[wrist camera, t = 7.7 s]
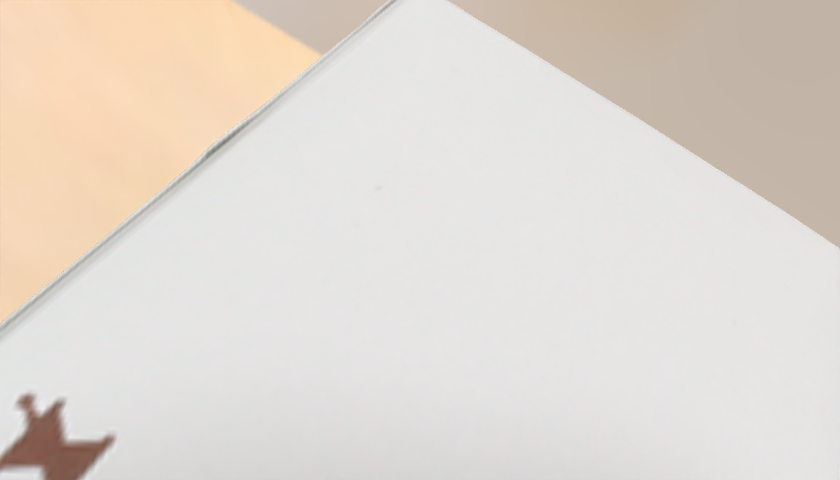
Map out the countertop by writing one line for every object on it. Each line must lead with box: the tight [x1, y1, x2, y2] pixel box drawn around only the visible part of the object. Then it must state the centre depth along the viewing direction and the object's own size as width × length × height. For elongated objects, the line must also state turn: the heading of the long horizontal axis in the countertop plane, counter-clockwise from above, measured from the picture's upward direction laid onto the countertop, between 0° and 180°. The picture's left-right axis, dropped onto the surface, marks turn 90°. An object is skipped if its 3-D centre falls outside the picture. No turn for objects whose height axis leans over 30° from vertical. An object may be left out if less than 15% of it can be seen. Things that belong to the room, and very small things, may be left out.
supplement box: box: [0, 0, 840, 480], centre depth 9 cm, size 7×7×13 cm
